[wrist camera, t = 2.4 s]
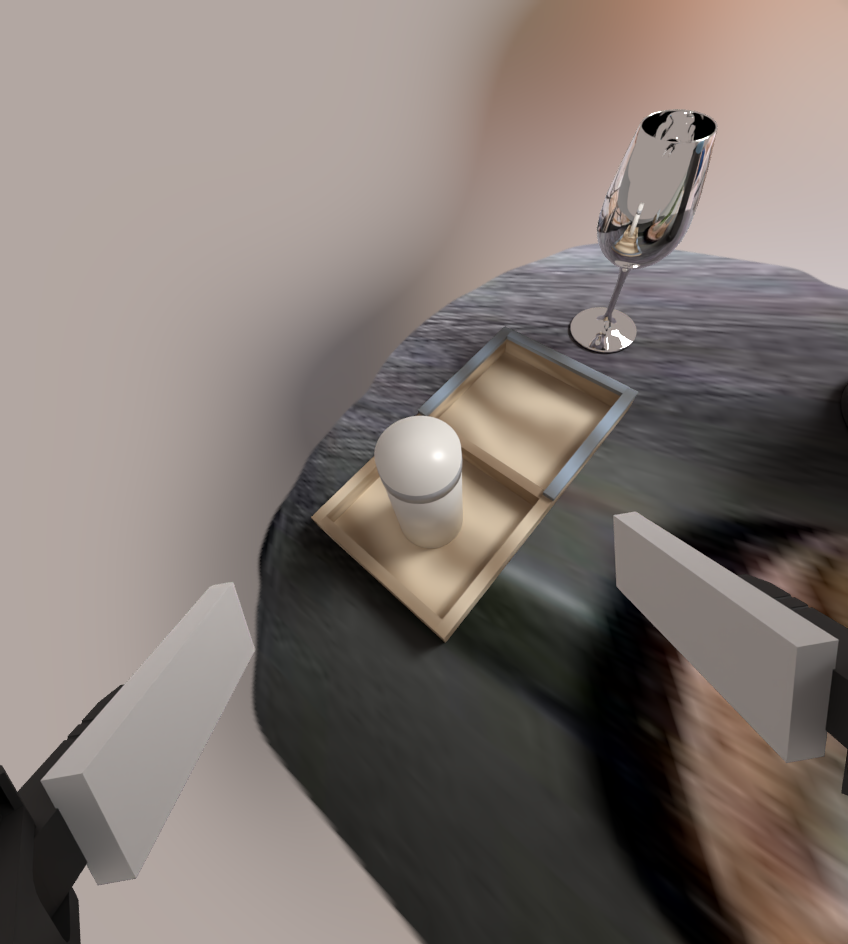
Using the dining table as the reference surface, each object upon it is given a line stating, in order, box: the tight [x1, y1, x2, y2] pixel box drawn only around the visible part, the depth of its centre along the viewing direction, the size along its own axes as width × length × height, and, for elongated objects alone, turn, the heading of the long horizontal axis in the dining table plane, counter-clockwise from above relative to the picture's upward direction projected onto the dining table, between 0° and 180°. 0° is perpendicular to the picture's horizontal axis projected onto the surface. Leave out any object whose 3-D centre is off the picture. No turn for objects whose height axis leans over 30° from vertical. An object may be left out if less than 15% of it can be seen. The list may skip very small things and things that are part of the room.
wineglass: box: [570, 109, 717, 353], centre depth 40 cm, size 8×8×20 cm
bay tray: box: [311, 327, 638, 643], centre depth 40 cm, size 30×16×3 cm, turn 139°
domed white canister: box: [374, 416, 463, 549], centre depth 33 cm, size 6×6×12 cm
